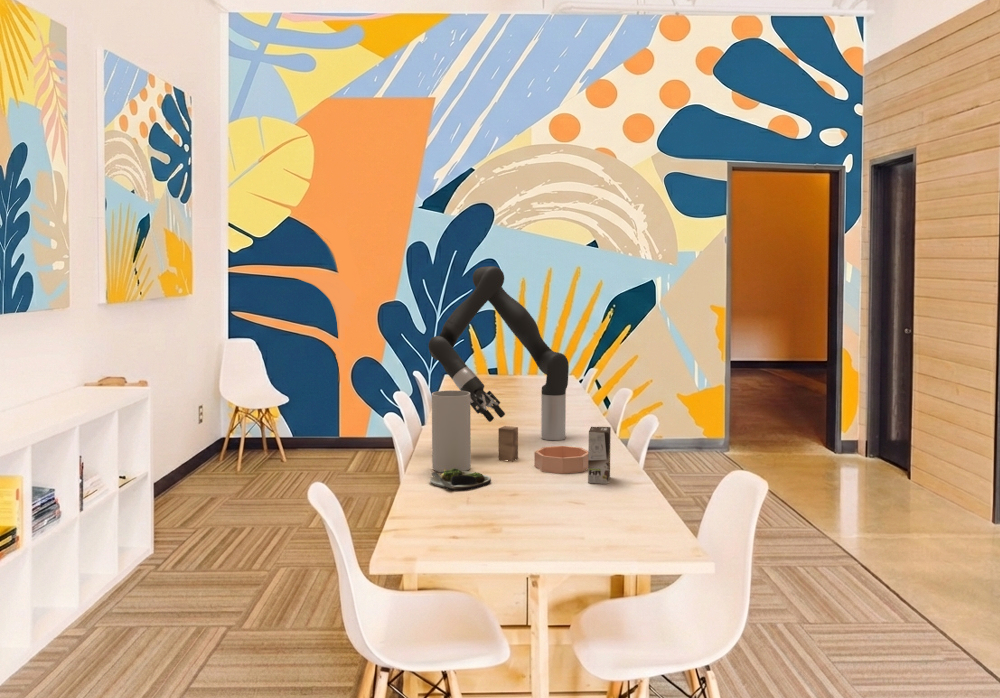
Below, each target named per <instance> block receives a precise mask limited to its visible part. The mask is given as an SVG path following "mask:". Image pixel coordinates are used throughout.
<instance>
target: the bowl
mask: <svg viewBox="0 0 1000 698" xmlns="http://www.w3.org/2000/svg"><path fill="white" fill-rule="evenodd" d="M533 454H534V462H533V463H534V467H535V468H536V467H537V468H536V469H538V470H539V469H540V471H541V472H545V473H552V474H553V473H554V474H560V475H561V474H562V475H563V474H576V473H577V472H578V473H583V471H584V472H585V471H587V470H588V449H585V448H584V447H579V446H578V447H577V446H569V445H556V446H555V445H554V446H543V447H541V448H539V449H537V450H534V453H533ZM586 469H587V470H586Z"/></svg>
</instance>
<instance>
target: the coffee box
mask: <svg viewBox="0 0 1000 698" xmlns="http://www.w3.org/2000/svg"><path fill="white" fill-rule="evenodd" d="M611 428H612V427H611V426H590V428H589V430H588V449H587V451H588V469H587V483H588V484H600V485H608V484H609V481H610V478H611V434H612V433H611V431H612V430H611Z"/></svg>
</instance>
